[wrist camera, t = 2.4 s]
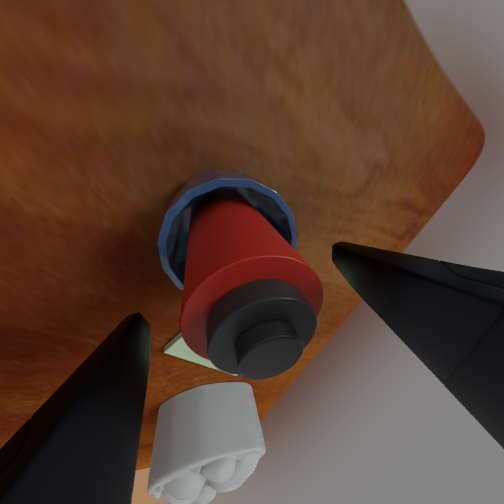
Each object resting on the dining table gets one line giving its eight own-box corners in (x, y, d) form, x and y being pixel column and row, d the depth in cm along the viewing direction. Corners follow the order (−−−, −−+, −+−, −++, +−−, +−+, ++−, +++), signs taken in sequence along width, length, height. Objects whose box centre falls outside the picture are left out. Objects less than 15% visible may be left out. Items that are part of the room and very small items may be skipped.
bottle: (225, 266, 16) (260, 416, 7) (174, 227, 13) (127, 393, 4) (270, 225, 15) (374, 336, 6) (225, 175, 12) (296, 246, 3)
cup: (224, 281, 17) (232, 318, 13) (145, 226, 13) (123, 258, 9) (289, 222, 16) (318, 245, 12) (224, 140, 12) (236, 138, 8)
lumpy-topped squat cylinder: (236, 414, 32) (247, 493, 25) (153, 427, 27) (137, 530, 20) (257, 379, 28) (278, 462, 21) (164, 387, 23) (149, 500, 16)
